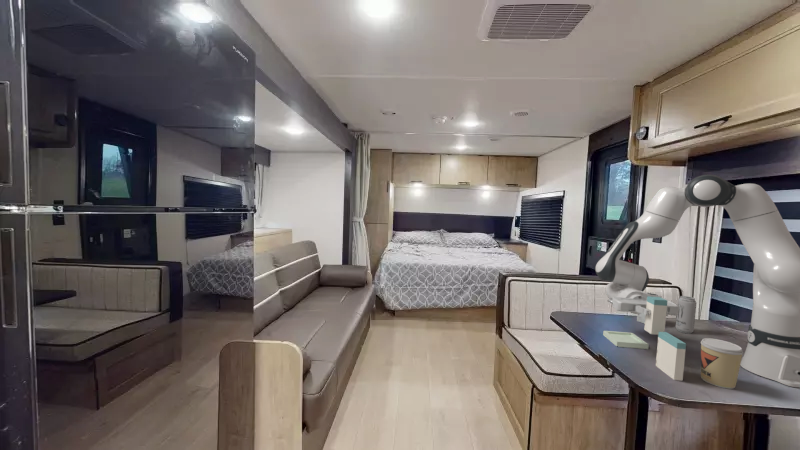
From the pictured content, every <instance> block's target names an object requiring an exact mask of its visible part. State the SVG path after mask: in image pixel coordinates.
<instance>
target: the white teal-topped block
mask: <svg viewBox="0 0 800 450" xmlns="http://www.w3.org/2000/svg"><path fill="white" fill-rule="evenodd" d="M663 298H664V297H662V298H661V297H650V296H647V305H646V309H649V310H651V315H646V316H645V324H644V327H643V329H644V331H646V332H647V333H649V334H650V335H657V336H658V334H659V332H666V331H665V330H666V319H667V316H666V311H667V300H668V299H667V300H665V299H666V298H665V299H663Z"/></svg>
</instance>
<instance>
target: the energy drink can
mask: <svg viewBox="0 0 800 450" xmlns="http://www.w3.org/2000/svg"><path fill="white" fill-rule="evenodd" d="M677 305H678V306H679V312H678V315H676V317H675V318H676V319H675V328H676V331H678V332H680V333H684V334H692V333H693V332H694V329H695V322H696V312H697V311H696V310H697V302H696V298H695V297H692V296H687V295H680V296H679V298H678V299H677Z"/></svg>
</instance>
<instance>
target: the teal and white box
mask: <svg viewBox="0 0 800 450" xmlns="http://www.w3.org/2000/svg"><path fill="white" fill-rule="evenodd" d="M656 346H657V348H656V358H655V367H656V368H658V369H659V370H660V371H662V372H663V373H664V374H666V375H667V376H668V377H669V378H671V379H672V380H674V381H681V382H682V381H683V379H684V370H685V369H684V368H685V361H686V359H685V358H686V350H687V343H686V342H684V341H682V340H680V339H679V338H677V337H676V336H673V334H670V333H669V332H667V331H664V332H659V334H658V335H657V345H656Z"/></svg>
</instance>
